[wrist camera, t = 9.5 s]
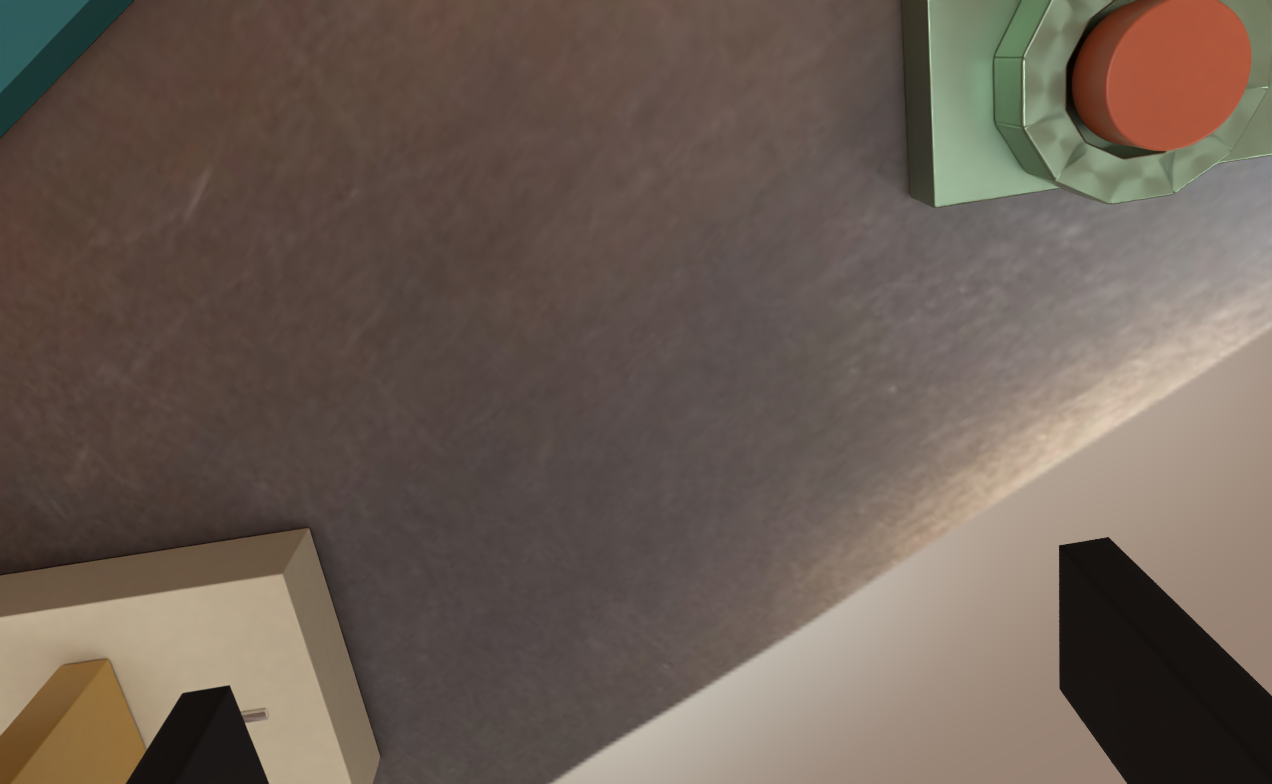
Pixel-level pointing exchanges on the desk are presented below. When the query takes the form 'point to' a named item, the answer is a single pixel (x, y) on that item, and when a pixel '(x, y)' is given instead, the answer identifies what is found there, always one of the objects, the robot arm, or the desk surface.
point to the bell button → (1162, 73)
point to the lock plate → (202, 645)
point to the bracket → (44, 46)
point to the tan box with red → (73, 731)
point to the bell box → (1045, 105)
